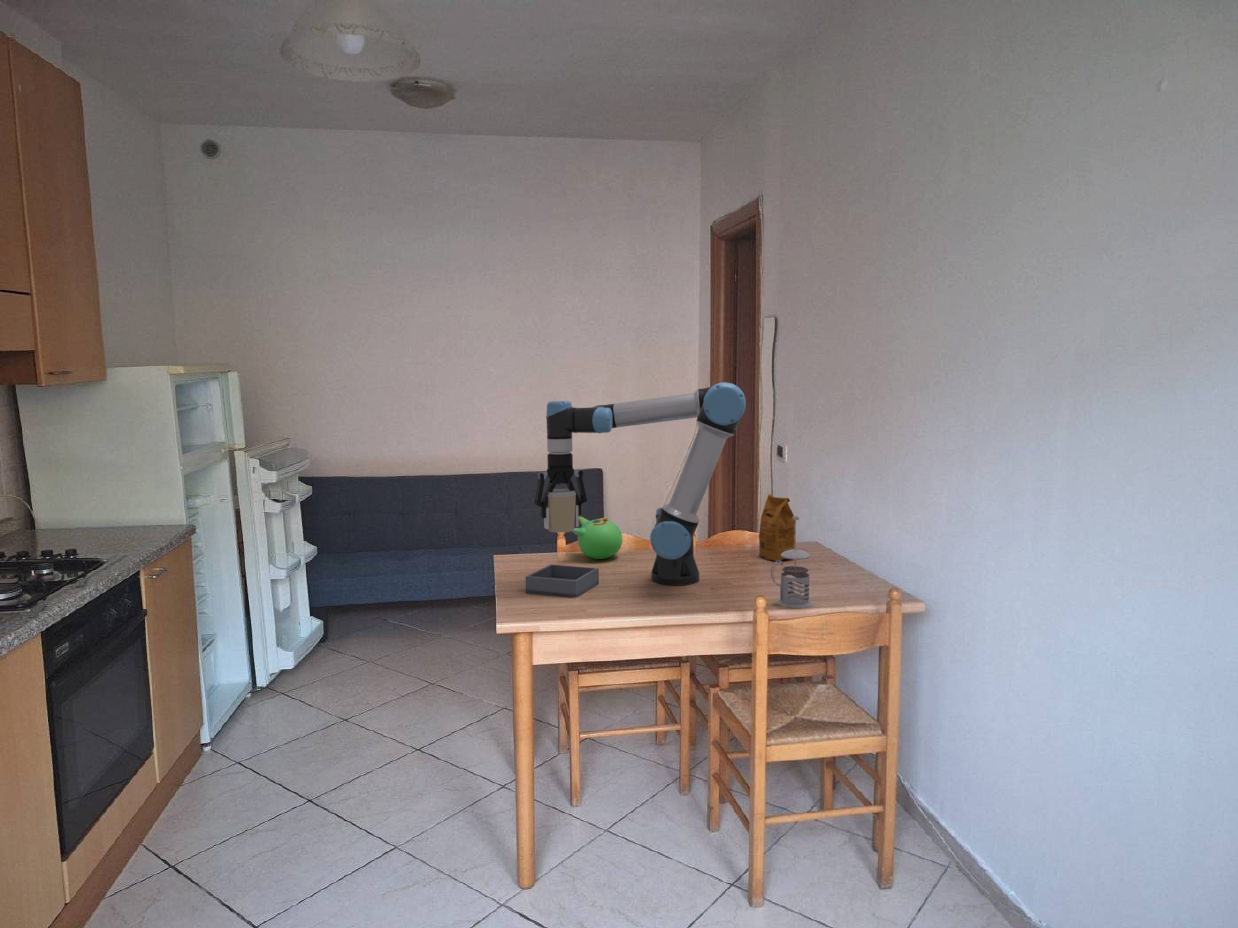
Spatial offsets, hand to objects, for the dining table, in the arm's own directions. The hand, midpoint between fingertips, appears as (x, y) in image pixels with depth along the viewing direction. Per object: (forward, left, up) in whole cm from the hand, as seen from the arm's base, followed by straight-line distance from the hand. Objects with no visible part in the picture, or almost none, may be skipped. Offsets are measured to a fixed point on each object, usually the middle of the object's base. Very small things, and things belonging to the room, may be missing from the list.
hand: (561, 527), depth 244 cm
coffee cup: (0, 0, -1) cm, 1 cm away
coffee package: (-53, -61, -19) cm, 83 cm away
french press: (-68, -7, -19) cm, 71 cm away
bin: (0, 0, -19) cm, 19 cm away
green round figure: (+6, -41, -19) cm, 46 cm away
